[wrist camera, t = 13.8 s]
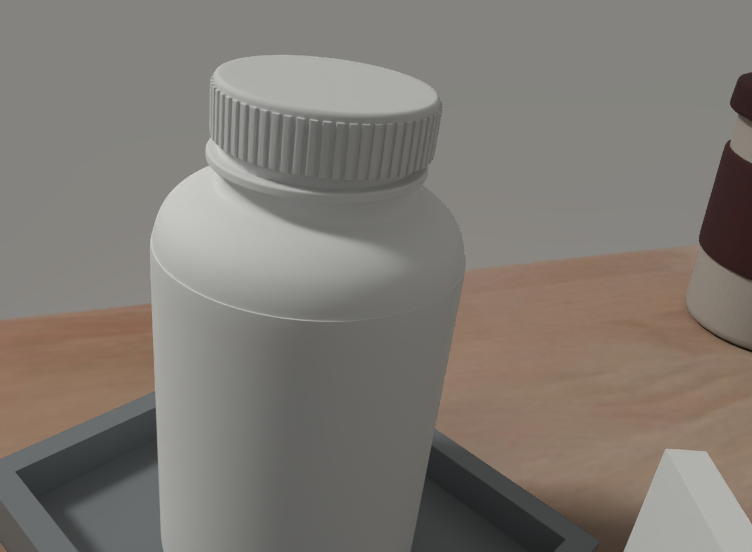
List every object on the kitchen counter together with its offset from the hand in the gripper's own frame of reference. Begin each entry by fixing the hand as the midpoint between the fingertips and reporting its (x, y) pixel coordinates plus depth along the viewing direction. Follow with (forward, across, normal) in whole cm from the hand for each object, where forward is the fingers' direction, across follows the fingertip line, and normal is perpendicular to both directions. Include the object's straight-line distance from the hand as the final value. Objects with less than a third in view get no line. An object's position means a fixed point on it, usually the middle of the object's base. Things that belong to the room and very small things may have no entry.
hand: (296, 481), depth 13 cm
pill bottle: (+7, 0, -10) cm, 12 cm away
